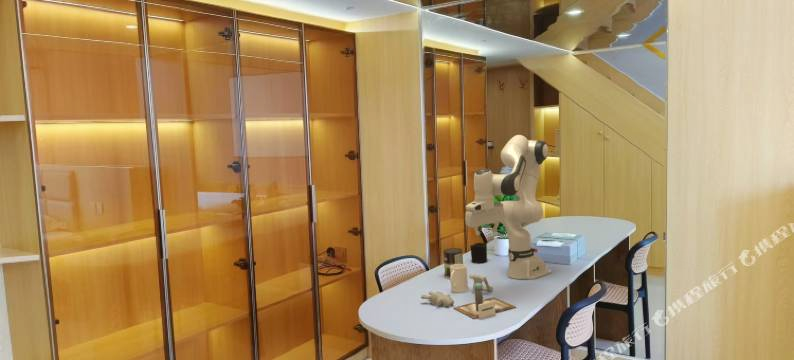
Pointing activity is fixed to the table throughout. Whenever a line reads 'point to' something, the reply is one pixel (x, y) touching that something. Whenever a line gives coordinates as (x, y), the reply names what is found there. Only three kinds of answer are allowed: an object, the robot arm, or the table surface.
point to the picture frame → (471, 308)
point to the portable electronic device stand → (479, 280)
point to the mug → (458, 278)
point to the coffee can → (452, 259)
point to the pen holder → (479, 253)
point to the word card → (486, 309)
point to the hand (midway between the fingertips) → (486, 233)
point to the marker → (478, 294)
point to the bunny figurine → (439, 299)
